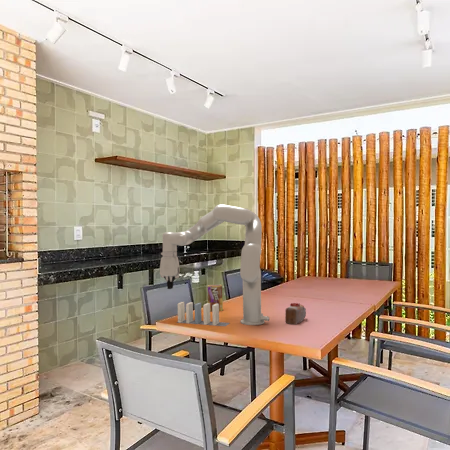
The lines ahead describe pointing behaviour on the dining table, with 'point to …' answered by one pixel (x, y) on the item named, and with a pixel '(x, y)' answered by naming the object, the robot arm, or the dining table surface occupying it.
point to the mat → (207, 324)
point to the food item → (295, 313)
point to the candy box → (215, 296)
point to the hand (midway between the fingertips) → (170, 288)
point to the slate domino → (198, 313)
